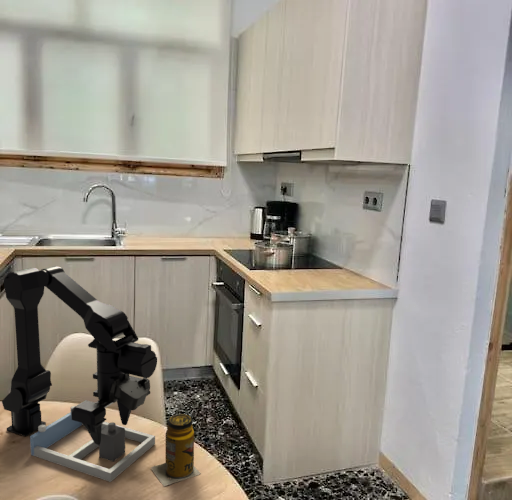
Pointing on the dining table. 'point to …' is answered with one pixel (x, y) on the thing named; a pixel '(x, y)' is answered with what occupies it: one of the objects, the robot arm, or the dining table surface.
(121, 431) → the grey cube with knob
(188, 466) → the condiment
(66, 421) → the organiser
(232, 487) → the dining table surface
